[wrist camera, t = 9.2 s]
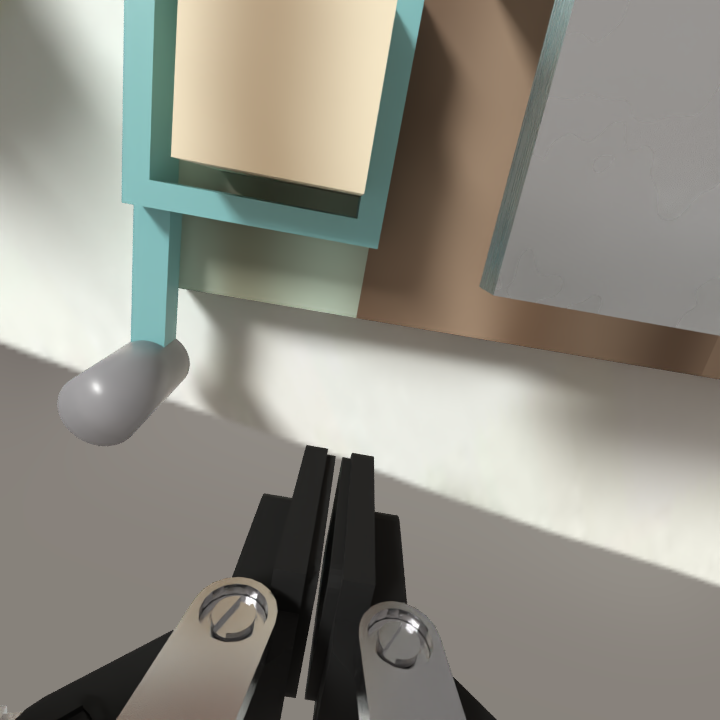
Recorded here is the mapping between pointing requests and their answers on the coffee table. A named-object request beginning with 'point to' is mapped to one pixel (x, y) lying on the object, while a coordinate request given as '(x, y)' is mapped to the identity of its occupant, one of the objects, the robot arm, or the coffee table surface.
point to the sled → (170, 200)
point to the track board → (429, 211)
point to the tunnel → (618, 167)
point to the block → (281, 88)
